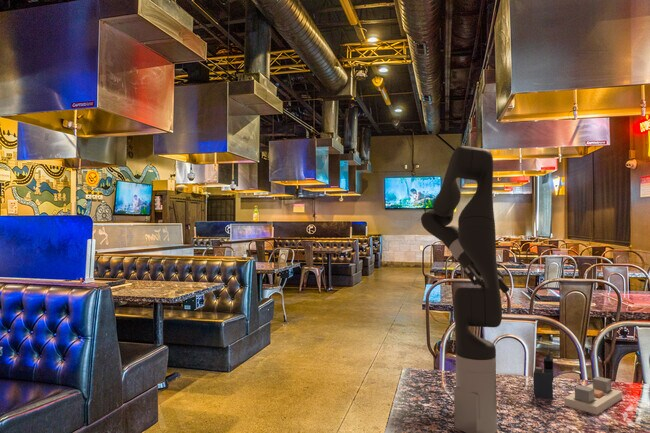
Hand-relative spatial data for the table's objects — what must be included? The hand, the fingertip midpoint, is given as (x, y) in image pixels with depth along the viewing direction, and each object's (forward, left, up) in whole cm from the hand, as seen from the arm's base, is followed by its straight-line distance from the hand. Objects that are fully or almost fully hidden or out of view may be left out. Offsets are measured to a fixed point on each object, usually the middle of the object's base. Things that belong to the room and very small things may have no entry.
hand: (499, 292), depth 134 cm
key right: (+16, -22, -26) cm, 38 cm away
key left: (+4, -22, -26) cm, 34 cm away
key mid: (+10, -22, -28) cm, 37 cm away
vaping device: (+3, -11, -29) cm, 31 cm away
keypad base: (+10, -22, -29) cm, 37 cm away
